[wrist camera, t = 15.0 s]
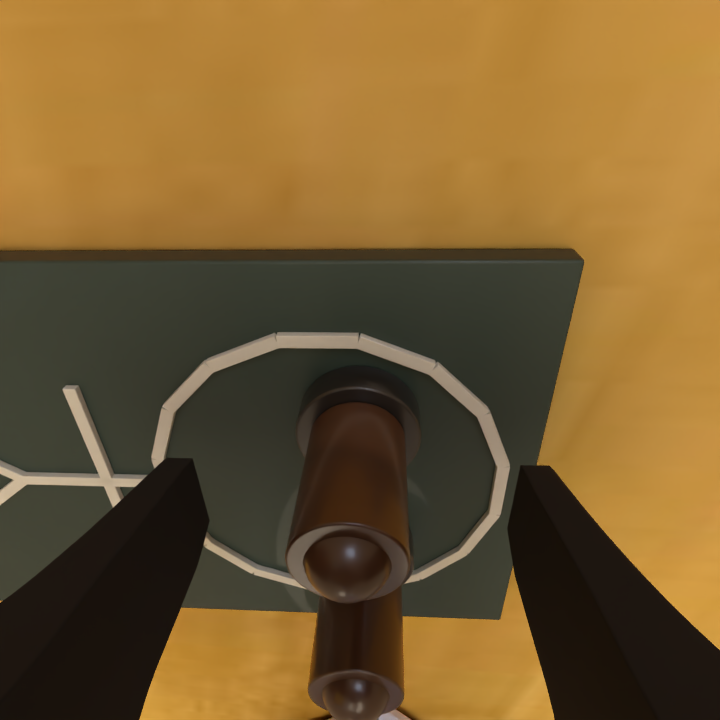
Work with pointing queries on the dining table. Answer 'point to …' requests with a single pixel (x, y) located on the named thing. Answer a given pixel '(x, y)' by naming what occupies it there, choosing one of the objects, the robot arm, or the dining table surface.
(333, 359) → the slate board
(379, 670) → the stamp
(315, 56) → the dining table surface
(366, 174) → the dining table surface
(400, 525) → the stamp
